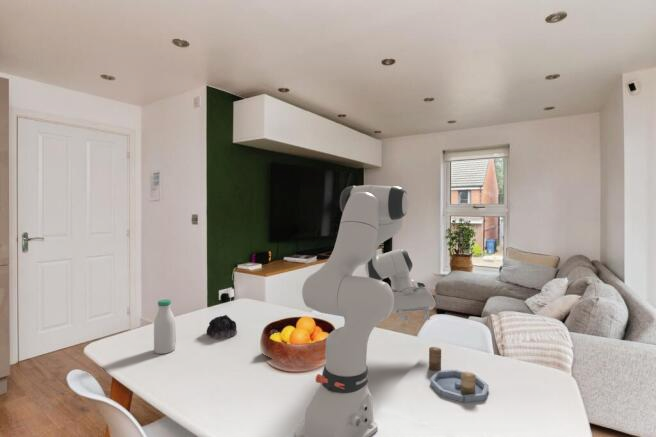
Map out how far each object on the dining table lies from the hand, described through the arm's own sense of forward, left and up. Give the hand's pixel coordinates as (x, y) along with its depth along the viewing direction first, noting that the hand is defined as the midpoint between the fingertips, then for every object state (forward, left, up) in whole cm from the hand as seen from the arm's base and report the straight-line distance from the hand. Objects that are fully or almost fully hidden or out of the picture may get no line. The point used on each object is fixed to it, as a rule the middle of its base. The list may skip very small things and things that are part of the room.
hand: (417, 320), depth 131 cm
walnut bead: (-8, -9, -14) cm, 19 cm away
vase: (-28, +48, -14) cm, 57 cm away
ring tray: (-16, -19, -14) cm, 29 cm away
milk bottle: (-51, +85, -14) cm, 100 cm away
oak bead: (-19, -23, -13) cm, 32 cm away
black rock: (-27, +80, -14) cm, 86 cm away
